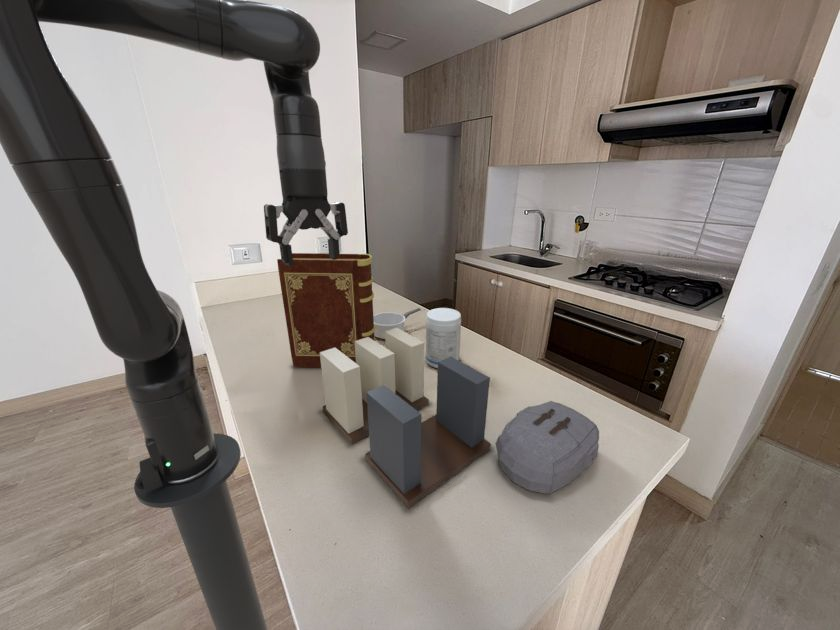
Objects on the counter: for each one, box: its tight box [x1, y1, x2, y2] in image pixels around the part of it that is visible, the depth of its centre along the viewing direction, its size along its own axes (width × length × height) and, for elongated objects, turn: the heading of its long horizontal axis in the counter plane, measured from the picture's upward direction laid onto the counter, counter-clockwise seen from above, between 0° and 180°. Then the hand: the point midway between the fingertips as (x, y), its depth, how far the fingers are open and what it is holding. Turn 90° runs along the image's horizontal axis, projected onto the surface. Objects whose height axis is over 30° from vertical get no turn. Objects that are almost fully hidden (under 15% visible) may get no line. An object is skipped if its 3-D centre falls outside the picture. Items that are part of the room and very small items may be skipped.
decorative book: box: [276, 252, 377, 369], centre depth 91 cm, size 22×8×30 cm, turn 89°
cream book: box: [355, 337, 395, 403], centre depth 74 cm, size 4×10×14 cm, turn 40°
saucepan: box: [373, 307, 422, 340], centre depth 115 cm, size 12×20×6 cm, turn 133°
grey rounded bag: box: [495, 400, 600, 494], centre depth 62 cm, size 15×8×20 cm
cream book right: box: [384, 328, 425, 402], centre depth 79 cm, size 4×10×14 cm, turn 40°
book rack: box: [321, 390, 492, 509], centre depth 70 cm, size 20×31×2 cm, turn 40°
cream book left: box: [320, 348, 364, 434], centre depth 69 cm, size 4×10×14 cm, turn 40°
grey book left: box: [367, 385, 422, 494], centre depth 56 cm, size 4×10×14 cm, turn 40°
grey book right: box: [435, 357, 491, 447], centre depth 66 cm, size 4×10×14 cm, turn 40°
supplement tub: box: [425, 307, 462, 369], centre depth 94 cm, size 10×10×15 cm
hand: (312, 262), depth 63 cm, fingers open, 8 cm apart
